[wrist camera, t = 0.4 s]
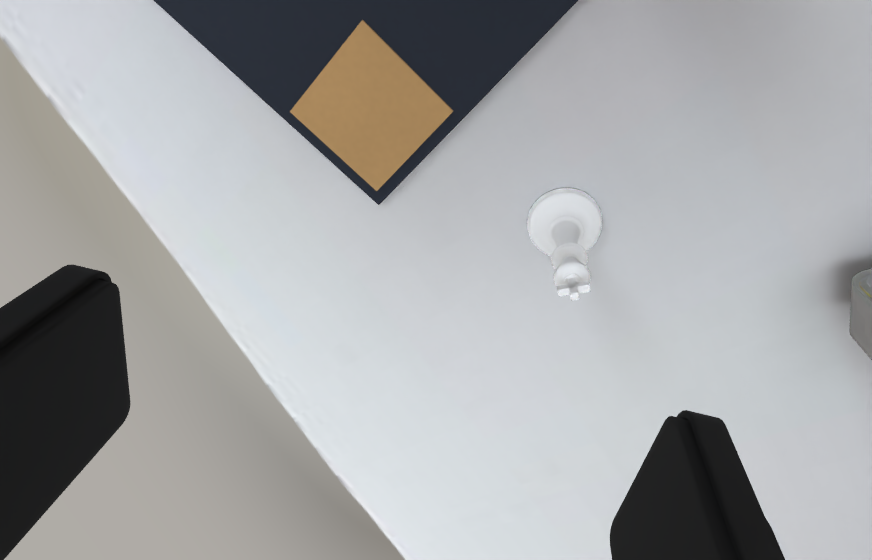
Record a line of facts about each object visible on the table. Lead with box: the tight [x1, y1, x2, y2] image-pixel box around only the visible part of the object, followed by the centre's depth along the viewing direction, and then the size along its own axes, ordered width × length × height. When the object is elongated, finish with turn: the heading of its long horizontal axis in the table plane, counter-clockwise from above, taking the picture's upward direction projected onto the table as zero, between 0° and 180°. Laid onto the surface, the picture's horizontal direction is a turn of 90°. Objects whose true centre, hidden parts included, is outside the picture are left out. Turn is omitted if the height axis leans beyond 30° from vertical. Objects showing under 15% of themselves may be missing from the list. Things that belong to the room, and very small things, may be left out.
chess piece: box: [527, 188, 602, 301], centre depth 35 cm, size 5×5×10 cm
